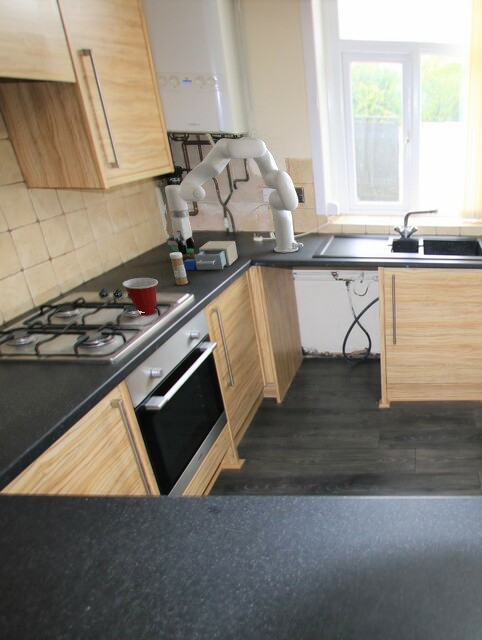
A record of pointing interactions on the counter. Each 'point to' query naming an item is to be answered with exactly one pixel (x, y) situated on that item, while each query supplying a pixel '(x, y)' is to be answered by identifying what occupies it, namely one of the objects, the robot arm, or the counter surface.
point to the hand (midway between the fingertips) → (187, 251)
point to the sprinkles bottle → (178, 268)
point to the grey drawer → (211, 259)
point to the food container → (175, 249)
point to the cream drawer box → (223, 245)
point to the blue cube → (190, 264)
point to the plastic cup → (142, 294)
